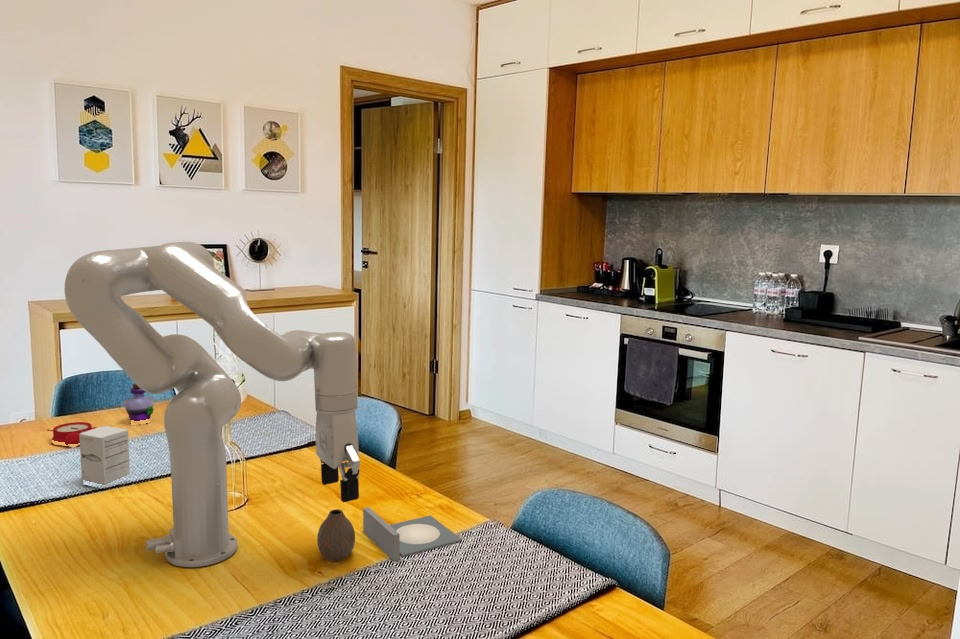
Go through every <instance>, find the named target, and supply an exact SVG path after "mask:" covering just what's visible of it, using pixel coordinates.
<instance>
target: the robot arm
mask: <svg viewBox="0 0 960 639" xmlns="http://www.w3.org/2000/svg"><path fill="white" fill-rule="evenodd" d="M154 291H162V292H164V293H166V294H167V296H170V297H171V298H173V299H174V300H175V301H177V302H178V303H180V304H181V305H183V306H184V307H185V308H187V309H188V310H190V311H191V312H193V313H194V314H195V315H196V316H198V317H199V318H201V319H202V320H203V321H204V322H206V323H208V325H210V326H211V327H212V328H213V329H214V331H215V333H216V334H217V336H218V337H219V338H220V339H221V341H222V343H224V345H225V346H226V347H227V348H228V349H229V350H230V351H231V352H232V354H234V355H235V356H236V357H237V358H238V359H240V360H241V361H243V362H244V363H245V364H247V365H248V366H250V367H251V368H252V369H254V370H255V371H256V372H258V373H260V374H261V375H262V376H264V377H266V378H269V379H270V380H273V381H276V382H288V381H291V380H293V379H295V378H297V377H298V376H299V375H301V374H302V373H303V372H306V371H308V370H311V369H312V370H313V378H314V379H313V381H314V382H313V383H314V399H315V402H314V403H315V412H316V415H315V416H316V418H315V454H316V456H317V457H318V458H319V459H320V461H319V462H320V471H321V472H320V473H321V475H320V476H321V484H322V485H323V486H325V485H331V484H335V483H338V482H339V479H340V478H339V473H340V476H341V480H340V500H341V501H340V502H342V503H347V502H351V501H356V500H359V498H360V492H359V491H360V490H359V489H360V488H359V485H360V484H359V478H360V466H361V460H360V459H359V455H360V454H359V450H360V449H359V436H358V427H357V426H358V425H357V424H358V423H357V418H356V411H357V410H358V409H359V405H358V404H359V403H358V401H359V400H358V399H359V398H358V376H357V375H358V374H357V373H358V371H357V344H356V339H355V337H354V335H353V334H351V333H348V332H342V331H335V332H333V331H332V332H323V333H322V332H314V331H308V330H298V329H297V330H290V331H287V332H285V333H283V334H280V333H278V332H277V331H274V329H272V328H271V327H269V326H268V325H266V324H265V323H264V322H263V321H262V320H261V319H259V318H258V317H257V316H256V315H255V314H254V312H253V311H252V309H251V308H250V307H249V304H248V301H247V297H246V296H247V295H246V292H245V290H244V288H243V287H242V286H241V285H240V284H238V283H237V282H235V281H233V280H232V279H231V278H229V277H228V276H226V275H225V274H223V272H221V271H220V270H218V269H217V268H215V261H214V258H213V256H212V255H211V252H210V251H208V249H207V248H205V246H203V245H201V244H199V243H197V242H193V241H175V242H167V243H164V244H163V243H162V244H160V245H153V246H152V245H151V246H141V247H131V248H130V247H129V248H118V249H106V250H98V251H93V252H89V253H87V254H84V255H82V256H81V257H79V258H78V259H76V260H75V261H74V262H73V263H72V265H71V266H70V267H69V269H68V271H67V273H66V276H65V279H64V298H65V300H66V301H65V302H66V306H67V307H68V309H69V311H70V313H71V314H72V315H73V316H72V317H74V319H75V320H76V321H77V323H78V324H80V326H81V327H82V328H83V329H84V330H85V331H86V332H87V333H88V334H90V336H91V337H93V339H94V340H96V342H98V343H99V345H100V346H101V347H102V348H103V349H104V350H105V352H106V353H107V354H108V355H109V356H110V357H111V358H112V360H113V361H114V362H115V363H116V364H117V365H118V366H119V367H120V368H121V369H122V370H123V372H124V373H125V374H126V375H127V376H128V377H129V378H130V379H131V380H132V381H133V383H134V384H136V385H137V386H138V387H139V388H141V389H142V390H143V391H145V393H147V394H153V395H159V394H164V393H167V392H168V391H171V390H173V389H175V390H176V391H177V392H178V393H177V394H175V395H174V396H173V397H172V398H171V400H170V401H169V402H168V404H167V406H166V407H165V411H164V416H163V424H164V431H165V435H166V439H167V444H168V450H169V460H170V476H171V477H170V478H171V499H172V502H171V504H172V523H173V524H172V525H173V527H172V528H169V534H165V535H164V536H163V537H159V538H152V539H148V540H145V550H146V552H151V551H154V550H155V554H156V555H157V554H163V553H164V554H165V556H164V557H165V559H166V561H167V562H168V563H170V564H171V565H174V566H177V567H180V568H181V567H183V568H200V567H206V566H211V565H215V564H217V563H220V562H222V561H225V560H227V559H228V558H230V557H232V556H233V555H234V554H235V552H236V551H237V549H238V548H239V546H238V539H237V538H236V536H234V535H233V534H231V533H230V531H229V504H228V501H229V498H228V497H229V496H228V469H227V468H228V467H227V453H226V447H225V443H224V440H223V436H222V428H223V427H224V426H225V425H226V424H228V423H229V422H230V421H231V420H232V419H233V418H234V417H236V416H237V414H238V412H239V411H240V409H241V405H242V404H241V403H242V396H241V392H240V390H239V388H238V386H237V385H236V382H234V381H233V379H232V378H231V376H229V374H228V373H227V372H226V371H225V370H224V369H223V368H222V366H220V364H219V363H218V362H217V360H215V359H214V358H213V357H212V356H211V355H210V354H209V353H208V351H207V350H206V349H205V348H204V347H203V346H202V345H201V344H200V343H199V342H198V341H196V340H195V339H194V338H191V337H190V336H186V335H185V334H184V335H183V334H178V333H177V334H169V335H165V336H163V335H162V334H160V333H159V332H158V331H157V330H156V329H155V328H154V327H153V326H152V325H151V324H150V322H149V321H148V320H147V318H145V317H144V316H143V314H141V313H140V312H139V311H137V310H136V309H135V308H133V307H131V306H130V305H129V304H127V303H126V302H125V301H124V300H123V299H122V297H125V296H128V295H133V294H139V293H146V292H147V293H148V292H154ZM346 468H348V469H347V471H346Z"/></svg>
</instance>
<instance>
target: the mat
mask: <svg viewBox="0 0 960 639" xmlns="http://www.w3.org/2000/svg"><path fill="white" fill-rule="evenodd" d="M389 525H390V526H391V527H392V528H393V529H394V530H396V531H397V532H398V533H399V534H400V543H399V556H400V557H402V558H404V557H408V556H412V555H416V554H420V553H424V552H427V551H426V550H428V551H431V550H434V549H433V548H435V549H439V548H442V547H441V546H443V547H446V546H445V545H447V546H449V544H450V545H453V544H452V543H454V544H456V543H455V542H458V543H461V542H460V541H462V542H463V539H462V538H461V537H460V536H458V535H456V534H455V533H454V532H453V531H451V529H449V528H448V527H446V526H445V525H444V524H442V523H441V522H440V521H439V520H438V519H436V518H434V517H433V516H432V515H426V516H422V517H418V518H417V517H416V518H413V519H409V520H405V521H404V520H403V521H401V522H396V523H392V524H389ZM438 547H439V548H438ZM430 549H431V550H430ZM423 551H424V552H423Z"/></svg>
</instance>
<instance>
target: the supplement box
mask: <svg viewBox="0 0 960 639" xmlns="http://www.w3.org/2000/svg"><path fill="white" fill-rule="evenodd" d="M79 436H80V446H79V451H80V452H79V453H80V468H81V469H80V471H81V481H82V480H85V481H89V482H94V483H97V484H102V485H106V484H108V483H111V482H113V481H115V480H117V479H120V478H122V477H124V476H127V475H129V474H130V475H131V471H130V470H131V468H130V450H129V449H130V448H129V446H130V445H129V429H124V428H120V427H115V426H114V427H113V426H108V425H102V426H99V427H97V428H95V429H92V430H89V431H86V432H82V433H80V434H79Z"/></svg>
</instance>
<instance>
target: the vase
mask: <svg viewBox="0 0 960 639" xmlns="http://www.w3.org/2000/svg"><path fill="white" fill-rule="evenodd" d="M316 538H317V539H316V541H317V548H318V551H319V553H320V555H322V557H323V558H324V559H326V560H327V561H330V562H340V561H343V560H345V559H347V558H348V557H349V556H350V555H351V553H352V551H353V550H354V548H355V543H356V533H355V528H354V526H353V524H352V522H351V521H350V520H349V519H348V518H347V516H346V515H345V513H344V512H343V510H342V509H332V510H330V511H329V513H328V515H327V516H326V518H325V519H324V521H323V522H322V523H321V525H320V526H319V528H318V532H317V537H316Z"/></svg>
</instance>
